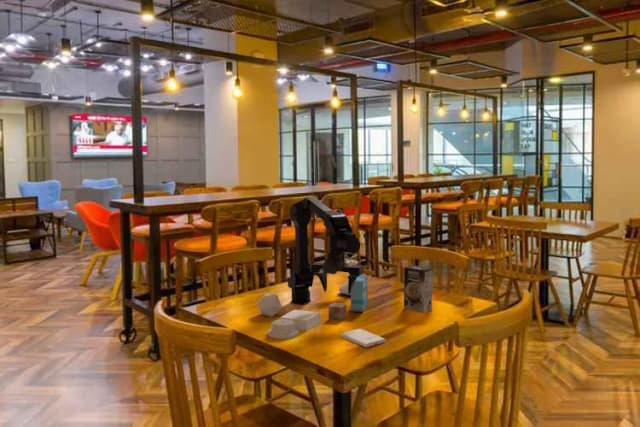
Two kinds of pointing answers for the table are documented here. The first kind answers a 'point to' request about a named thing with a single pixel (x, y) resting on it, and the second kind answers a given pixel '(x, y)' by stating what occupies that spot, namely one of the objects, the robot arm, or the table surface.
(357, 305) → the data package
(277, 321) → the mechanical component
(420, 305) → the coffee box
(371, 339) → the external hard drive
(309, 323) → the grey block
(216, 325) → the table surface
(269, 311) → the die
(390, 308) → the table surface
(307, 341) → the table surface
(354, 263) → the flower in vase
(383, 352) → the table surface
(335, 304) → the grey cube
